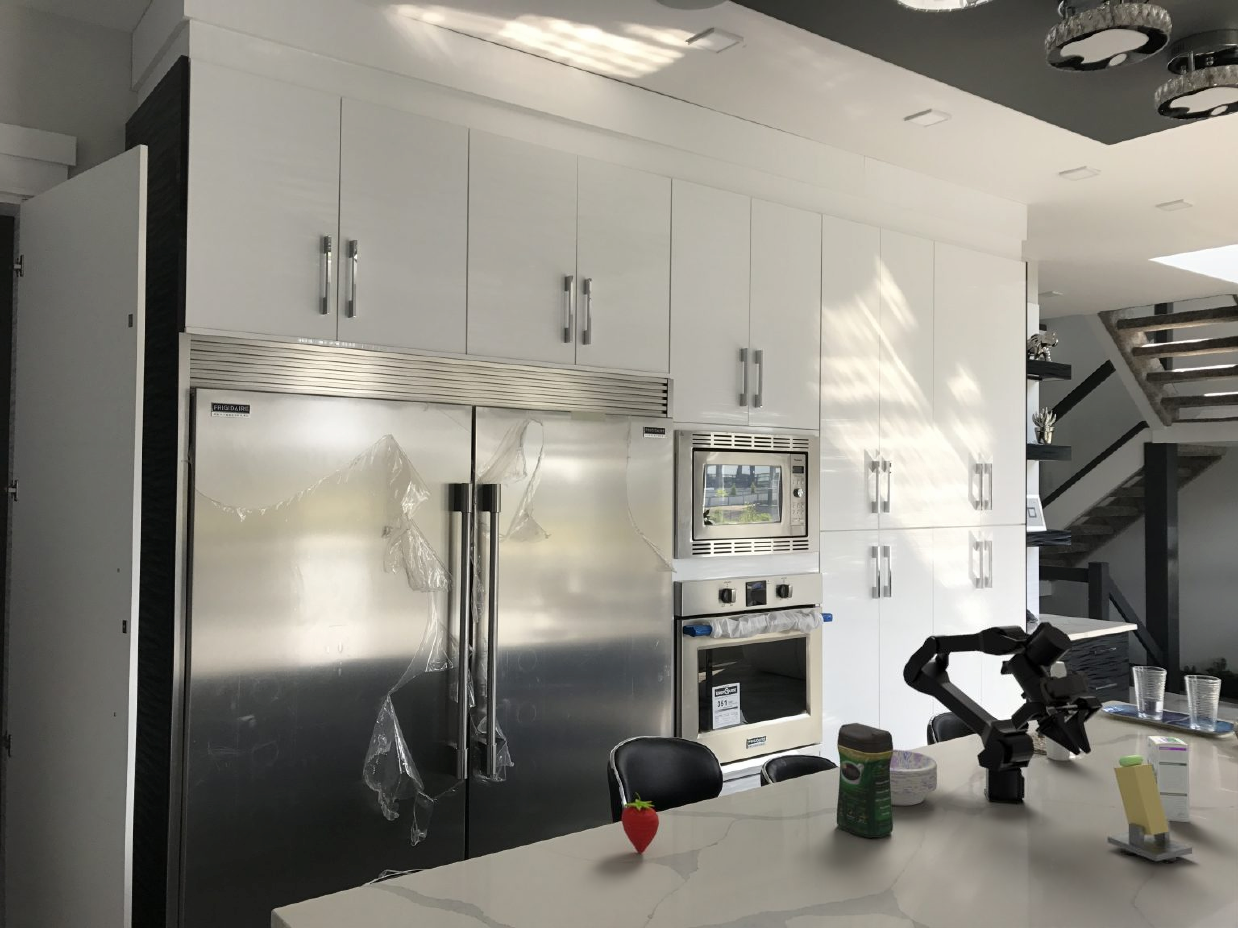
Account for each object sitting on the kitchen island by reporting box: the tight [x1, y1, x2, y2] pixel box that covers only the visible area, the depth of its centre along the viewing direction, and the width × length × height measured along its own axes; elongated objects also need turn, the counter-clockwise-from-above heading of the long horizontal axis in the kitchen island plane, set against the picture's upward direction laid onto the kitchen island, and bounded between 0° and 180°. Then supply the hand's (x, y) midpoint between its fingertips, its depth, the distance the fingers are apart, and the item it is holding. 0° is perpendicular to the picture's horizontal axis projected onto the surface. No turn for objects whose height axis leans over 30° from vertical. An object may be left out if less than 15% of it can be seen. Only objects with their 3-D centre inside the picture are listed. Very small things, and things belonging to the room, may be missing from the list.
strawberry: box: [621, 792, 660, 854], centre depth 158 cm, size 6×8×10 cm
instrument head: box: [1113, 754, 1169, 835], centre depth 164 cm, size 4×4×13 cm
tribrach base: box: [1107, 821, 1193, 865], centre depth 162 cm, size 9×9×5 cm
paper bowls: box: [890, 748, 938, 807], centre depth 189 cm, size 15×15×8 cm
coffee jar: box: [836, 722, 894, 838], centre depth 171 cm, size 10×8×19 cm
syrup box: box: [1146, 735, 1191, 823], centre depth 182 cm, size 6×6×14 cm
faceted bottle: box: [1044, 661, 1071, 762], centre depth 221 cm, size 6×6×22 cm
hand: (1083, 753), depth 174 cm, fingers open, 2 cm apart
